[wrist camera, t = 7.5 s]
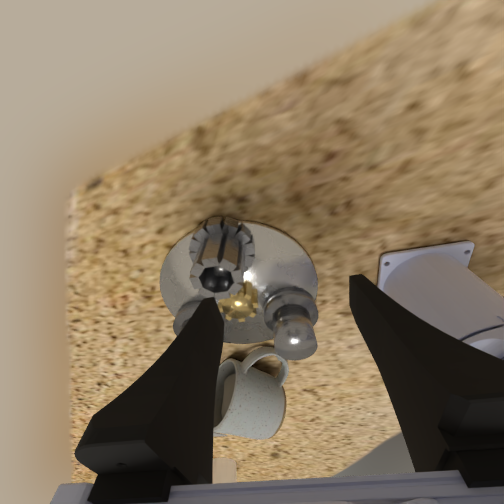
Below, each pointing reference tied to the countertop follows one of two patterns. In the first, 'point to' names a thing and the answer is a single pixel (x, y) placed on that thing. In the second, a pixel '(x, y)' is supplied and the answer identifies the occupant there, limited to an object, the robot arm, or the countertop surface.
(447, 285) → the robot arm
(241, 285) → the planet gear
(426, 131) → the countertop surface
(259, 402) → the ceramic mug
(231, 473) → the white short cylinder
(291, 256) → the carrier
